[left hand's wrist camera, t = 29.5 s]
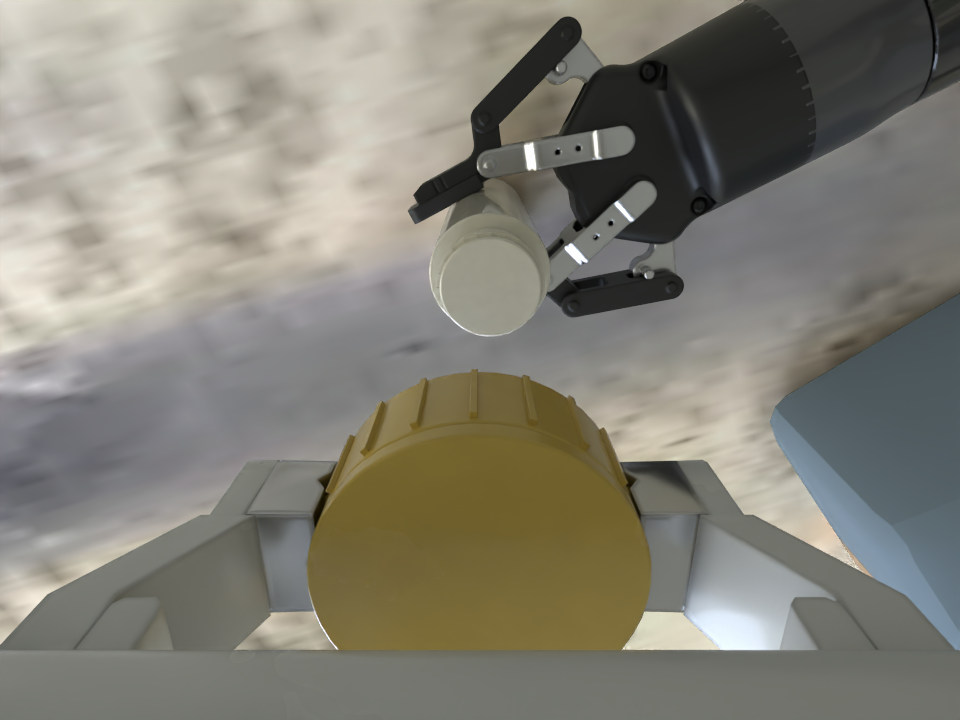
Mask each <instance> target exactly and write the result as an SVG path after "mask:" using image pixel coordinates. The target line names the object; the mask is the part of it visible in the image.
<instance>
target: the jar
mask: <svg viewBox="0 0 960 720" xmlns="http://www.w3.org/2000/svg"><path fill="white" fill-rule="evenodd" d="M550 276H551V267H550V261H549V257H548V253H547V250H546V248H545V246H544V244H543V242H542V240H541V238H540V236H539V234H538V232H537V230H536V228H535V226H534V224H533V222H532V220H531V219H530V217H529V215H528V213H527V211H526V209H525V207H524V205H523V203H522V201H521V199H520V197H519V195H518V194H517V192H516V191H515V190H514V189H513V188H512V187H511V186H510V185H509V184H507V183H506V182H504V181H502V180H500V179H497V178H491V179H489V180H487V181H485V182H484V188H482V189H480V190H478V191H477V192H475V193H473V194H471V195H469V196H467V197H465V198H463V199H462V200H460V201H458V202H456V203H454V204H453V205H451V206H450V208H449V211H448V213H447V216H446V219H445V221H444V224H443V227H442V229H441V232H440V235H439V237H438V240H437V243H436V245H435V248H434V251H433V254H432V257H431V261H430V266H429V278H430V285H431V289H432V292H433V295H434V297H435V299H436V301H437V303H438V305H439V306H440V307H441V309H442V310H443V311H444V312H445V313H446V314H447V315H448V316H449V317H450V318H451V319H452V320H453V321H454V322H455V323H456V324H457V325H458V326H460V327H461V328H463V329H464V330H466V331H468V332H470V333H473V334H476V335H480V336H490V337H491V336H500V335H505V334H508V333H510V332H513V331H515V330H517V329H518V328H520V327H521V326H523V325H524V324H525V323H527V322H528V321H529V320H530V319H531V317H532V316H533V315H534V314H535V313H536V312H537V310H538V308H539V307H540V305H541V304H542V302H543V300H544V298H545V296H546V294H547V291H548V288H549V284H550Z"/></svg>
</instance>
